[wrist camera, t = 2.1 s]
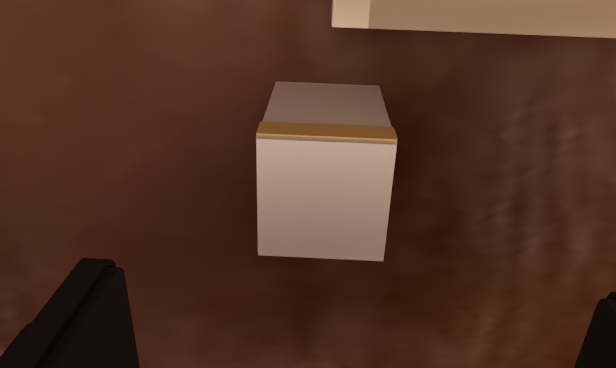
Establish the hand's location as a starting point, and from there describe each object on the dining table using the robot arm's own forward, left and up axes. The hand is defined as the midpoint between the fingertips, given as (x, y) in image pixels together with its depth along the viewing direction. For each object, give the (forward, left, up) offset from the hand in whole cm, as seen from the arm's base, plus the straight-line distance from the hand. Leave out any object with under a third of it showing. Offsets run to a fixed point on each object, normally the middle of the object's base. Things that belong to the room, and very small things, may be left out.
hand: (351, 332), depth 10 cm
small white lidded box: (0, +1, -12) cm, 12 cm away
